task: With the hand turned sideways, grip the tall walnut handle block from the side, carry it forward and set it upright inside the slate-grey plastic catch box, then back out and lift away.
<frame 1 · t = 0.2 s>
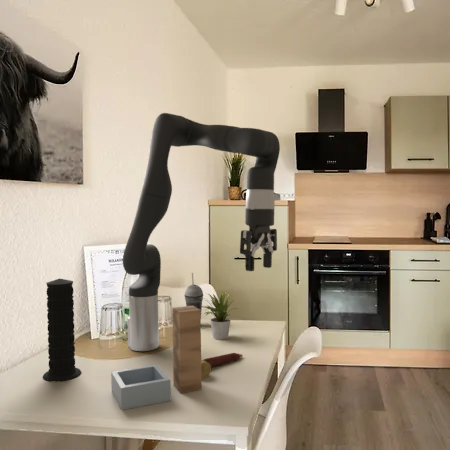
hand: (258, 269, 123), 29 cm above the table, tool pointing down, fingers open, 8 cm apart
catch box: (140, 395, 113), on the table
beverage cup: (194, 326, 178), on the table
gavel: (215, 367, 133), on the table
house plant: (219, 337, 163), on the table
walnut handle block: (187, 387, 118), on the table
handle grip: (62, 375, 128), on the table
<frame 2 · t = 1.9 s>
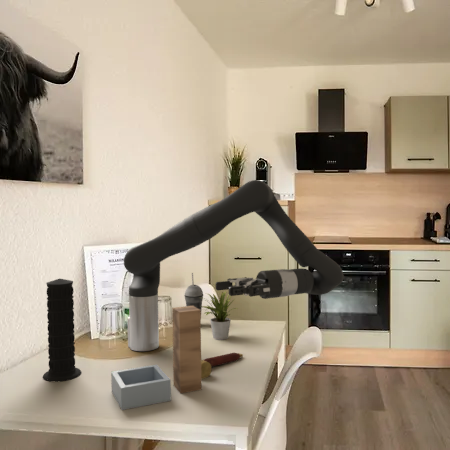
hand: (222, 288, 121), 24 cm above the table, tool horizontal, fingers open, 8 cm apart
nothing on the table moved.
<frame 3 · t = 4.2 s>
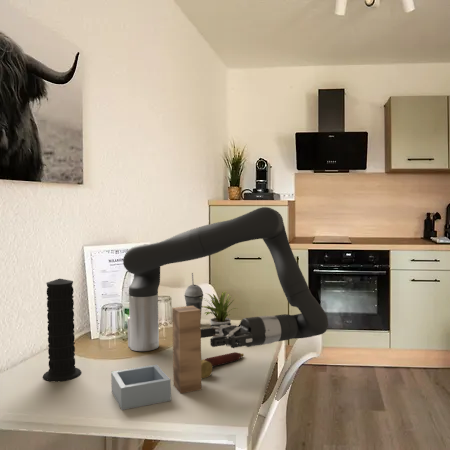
hand: (204, 338, 119), 12 cm above the table, tool horizontal, fingers open, 8 cm apart
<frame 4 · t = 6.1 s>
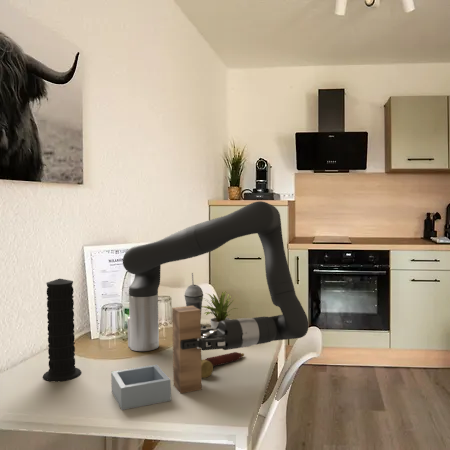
hand: (177, 341, 116), 12 cm above the table, tool horizontal, fingers closed on walnut handle block, 5 cm apart
walnut handle block: (187, 387, 118), on the table, touching gripper
everything else where it was.
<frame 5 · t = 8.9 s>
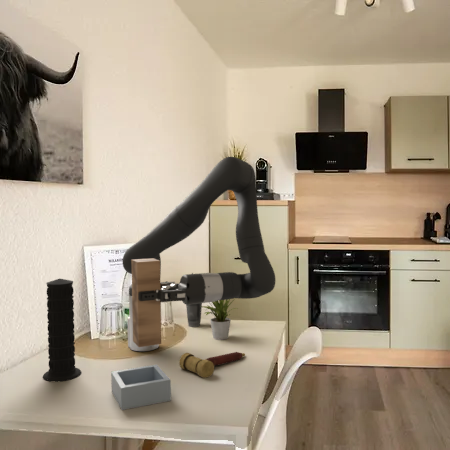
hand: (135, 294, 111), 25 cm above the table, tool horizontal, fingers closed on walnut handle block, 5 cm apart
walnut handle block: (147, 342, 113), point 13 cm above the table, touching gripper
when the fingers open (14 cm above the table, at t = 11.7 s): walnut handle block stays where it is, resting on catch box.
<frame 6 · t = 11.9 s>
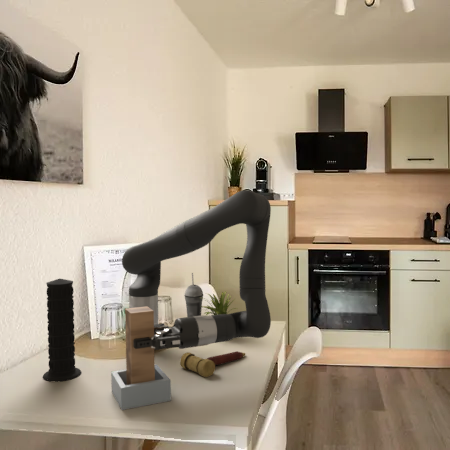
hand: (130, 339, 111), 14 cm above the table, tool horizontal, fingers open, 7 cm apart
walnut handle block: (140, 391, 113), point 1 cm above the table, touching catch box
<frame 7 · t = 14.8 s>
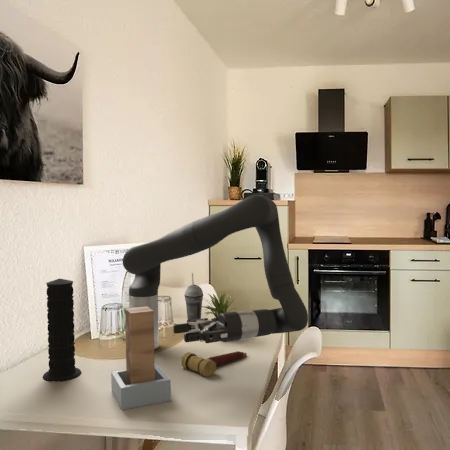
hand: (178, 333, 116), 14 cm above the table, tool horizontal, fingers open, 8 cm apart
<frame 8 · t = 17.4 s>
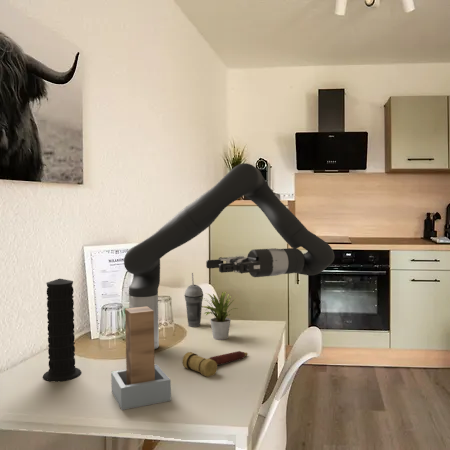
hand: (213, 266, 121), 30 cm above the table, tool horizontal, fingers open, 8 cm apart
at the end: walnut handle block inside the target area on the catch box (0.1 cm from its centre), point 1.0 cm above the catch box's base; walnut handle block tilted 0°; the gripper is holding nothing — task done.
